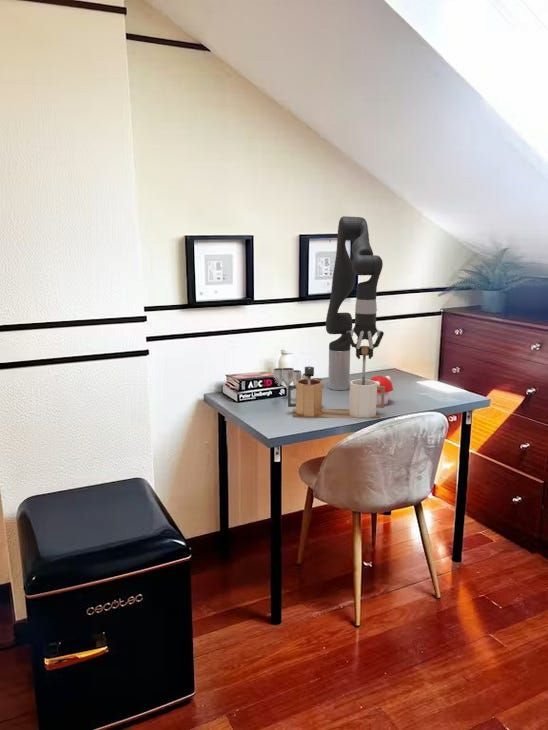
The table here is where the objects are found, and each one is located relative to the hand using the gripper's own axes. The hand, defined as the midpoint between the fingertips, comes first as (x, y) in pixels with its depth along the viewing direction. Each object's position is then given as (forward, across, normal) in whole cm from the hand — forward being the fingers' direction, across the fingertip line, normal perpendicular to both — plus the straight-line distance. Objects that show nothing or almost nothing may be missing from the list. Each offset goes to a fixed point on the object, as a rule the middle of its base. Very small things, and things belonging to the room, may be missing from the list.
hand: (364, 358), depth 225 cm
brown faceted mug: (+21, +22, 0) cm, 30 cm away
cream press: (+21, -2, 0) cm, 21 cm away
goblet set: (+23, +24, -17) cm, 38 cm away
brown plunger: (+12, 0, 0) cm, 12 cm away
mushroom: (+23, -8, -16) cm, 29 cm away
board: (+22, +10, 0) cm, 25 cm away
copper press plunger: (+20, +20, 0) cm, 28 cm away
